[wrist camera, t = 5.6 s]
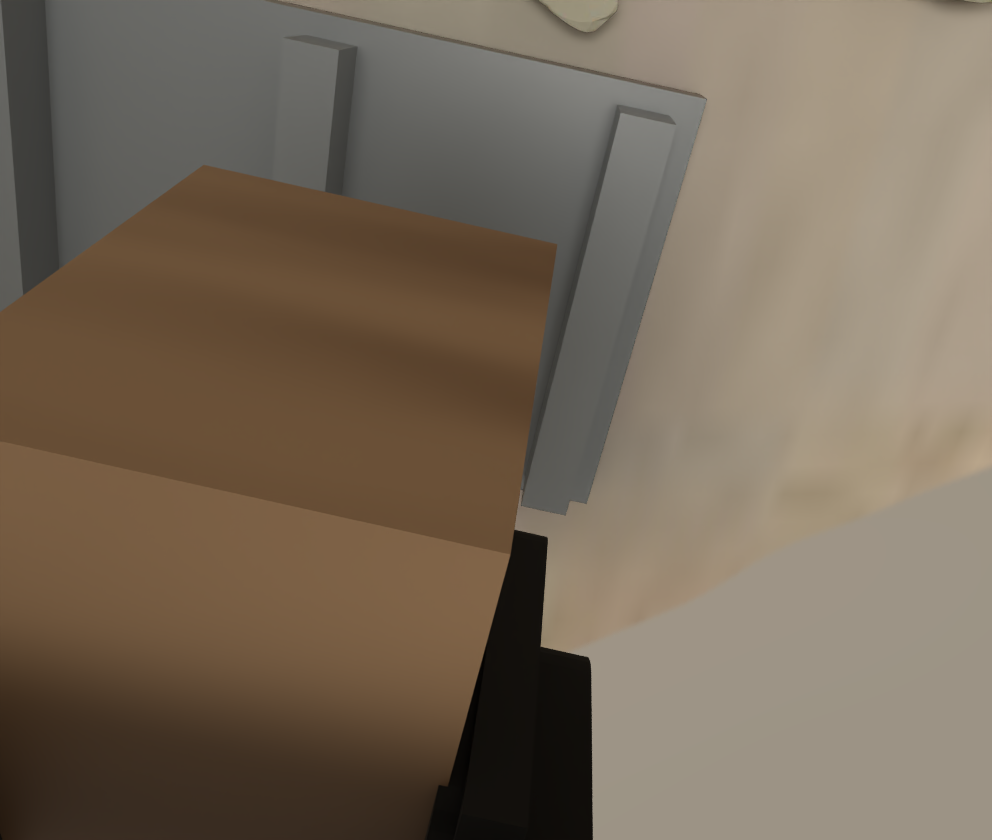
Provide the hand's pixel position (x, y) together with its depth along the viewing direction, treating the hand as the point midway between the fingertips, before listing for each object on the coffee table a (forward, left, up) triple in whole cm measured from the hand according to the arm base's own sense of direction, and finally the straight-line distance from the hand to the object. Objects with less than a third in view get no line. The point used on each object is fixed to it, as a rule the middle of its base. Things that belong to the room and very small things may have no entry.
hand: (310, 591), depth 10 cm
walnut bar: (0, +1, -2) cm, 2 cm away
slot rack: (-4, 0, -13) cm, 14 cm away
